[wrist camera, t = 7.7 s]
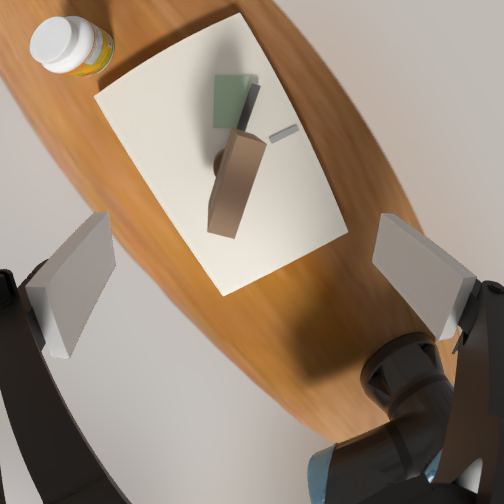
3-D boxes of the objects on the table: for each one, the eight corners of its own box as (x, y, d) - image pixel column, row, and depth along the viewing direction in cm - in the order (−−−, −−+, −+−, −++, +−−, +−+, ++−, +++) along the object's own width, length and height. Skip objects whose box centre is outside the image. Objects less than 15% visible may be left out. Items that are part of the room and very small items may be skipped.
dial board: (342, 225, 36) (349, 232, 34) (222, 287, 38) (223, 297, 36) (238, 17, 25) (239, 12, 23) (100, 96, 27) (93, 96, 25)
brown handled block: (233, 200, 31) (241, 240, 23) (203, 192, 31) (200, 230, 22) (270, 90, 27) (296, 83, 18) (240, 80, 26) (252, 68, 17)
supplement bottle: (61, 70, 25) (13, 64, 16) (82, 25, 23) (40, 4, 14) (101, 82, 26) (61, 77, 18) (124, 36, 24) (91, 14, 16)
